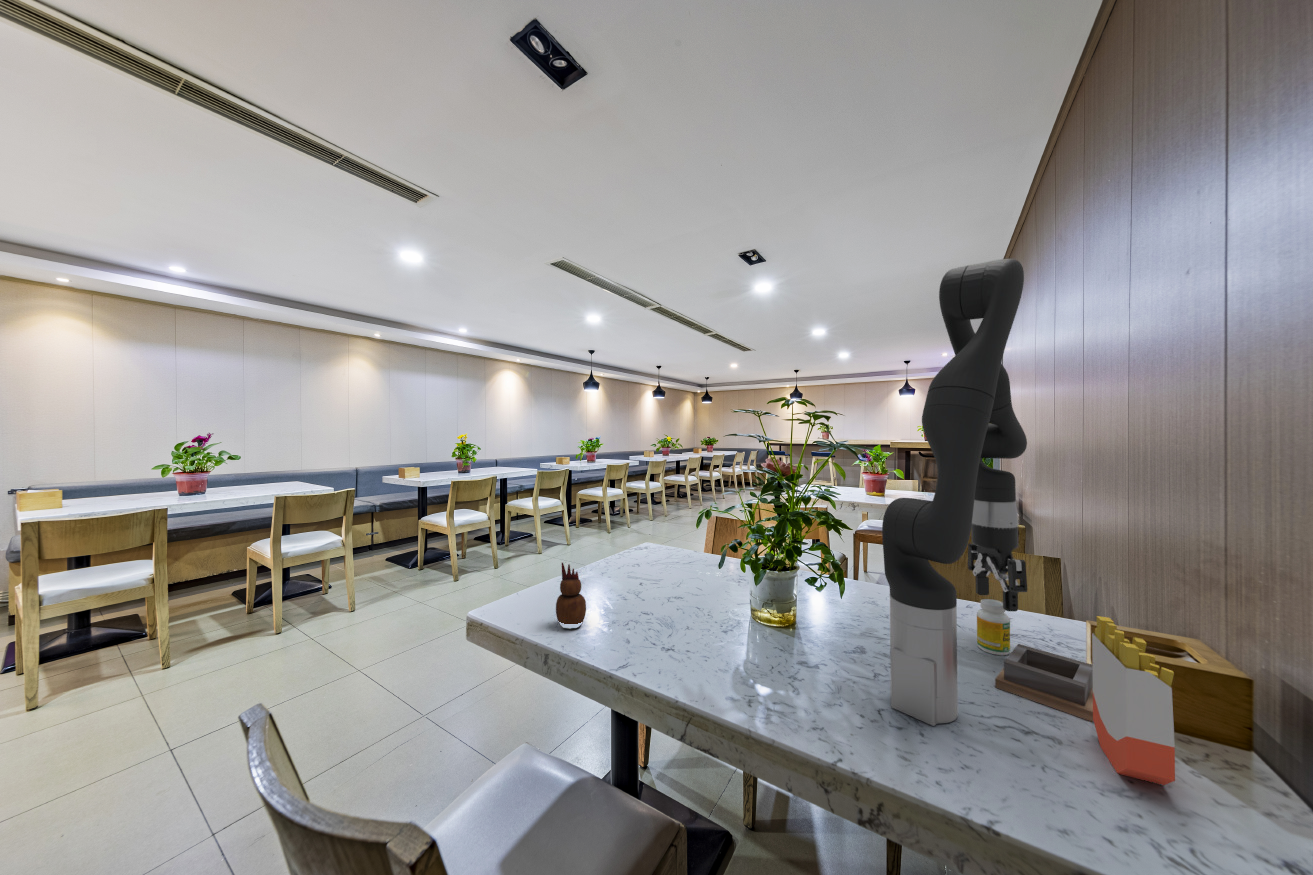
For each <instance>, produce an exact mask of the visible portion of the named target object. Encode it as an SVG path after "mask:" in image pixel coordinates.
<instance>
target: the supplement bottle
mask: <svg viewBox="0 0 1313 875" xmlns="http://www.w3.org/2000/svg"><path fill="white" fill-rule="evenodd" d="M1005 612H1007V611H1006V610H1004V609H1003V601H1000V600H997V599H992V598H991V599H990V598H989V599H988V598H984V599H983V598H982V599H981V600H980V609H978V610H977V611H976V644H977V647H978V648H979V649H980V650H982V651H984V652H985V653H988V654H992V655H995V656H996V655H997V656H1007V655H1010V654H1011V619H1010V617H1009V615H1008V614H1007V613H1005Z"/></svg>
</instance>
